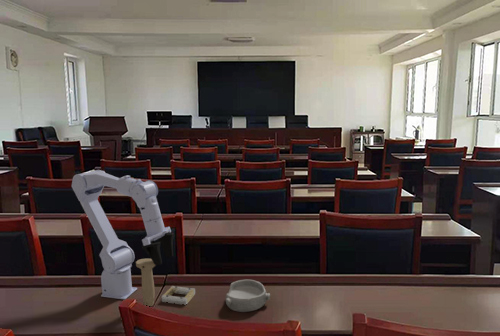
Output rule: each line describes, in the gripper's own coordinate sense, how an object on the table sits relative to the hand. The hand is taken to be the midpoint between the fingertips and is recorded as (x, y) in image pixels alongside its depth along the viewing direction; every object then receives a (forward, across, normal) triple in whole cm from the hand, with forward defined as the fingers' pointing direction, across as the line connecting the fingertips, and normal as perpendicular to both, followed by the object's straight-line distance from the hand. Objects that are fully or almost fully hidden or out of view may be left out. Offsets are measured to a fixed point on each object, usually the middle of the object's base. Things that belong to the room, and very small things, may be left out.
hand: (164, 260), depth 129 cm
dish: (+22, +10, -19) cm, 30 cm away
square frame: (+15, +7, +3) cm, 17 cm away
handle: (+14, +1, +11) cm, 17 cm away
